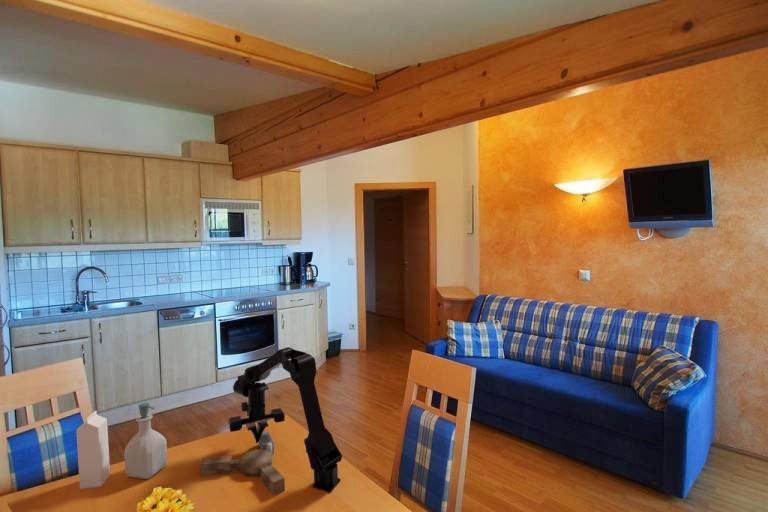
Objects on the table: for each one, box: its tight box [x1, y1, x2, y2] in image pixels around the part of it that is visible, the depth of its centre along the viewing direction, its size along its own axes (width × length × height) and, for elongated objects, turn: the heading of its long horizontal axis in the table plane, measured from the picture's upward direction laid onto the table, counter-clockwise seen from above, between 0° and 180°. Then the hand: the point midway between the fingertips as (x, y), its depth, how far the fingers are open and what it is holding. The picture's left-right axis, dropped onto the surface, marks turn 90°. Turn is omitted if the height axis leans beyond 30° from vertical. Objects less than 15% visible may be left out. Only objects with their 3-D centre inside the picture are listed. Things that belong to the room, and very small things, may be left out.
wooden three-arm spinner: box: [199, 448, 286, 496], centre depth 133 cm, size 31×16×4 cm, turn 68°
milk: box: [75, 410, 111, 490], centre depth 128 cm, size 6×6×22 cm
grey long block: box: [258, 431, 275, 455], centre depth 146 cm, size 11×4×4 cm, turn 28°
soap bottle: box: [123, 402, 168, 480], centre depth 133 cm, size 10×10×23 cm
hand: (257, 442), depth 147 cm, fingers closed
